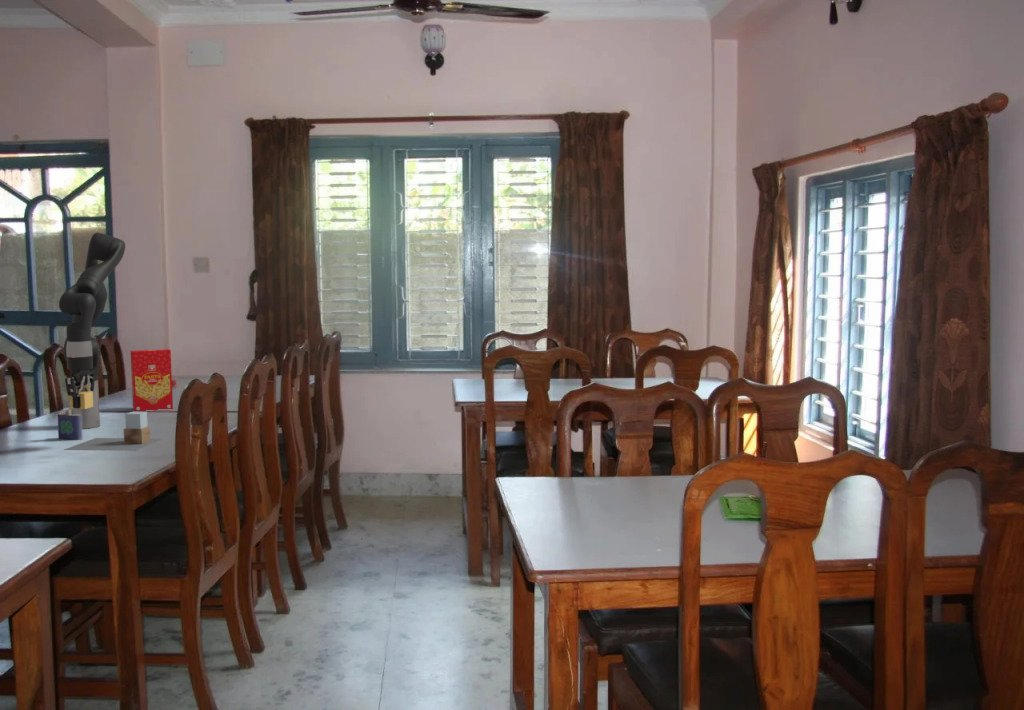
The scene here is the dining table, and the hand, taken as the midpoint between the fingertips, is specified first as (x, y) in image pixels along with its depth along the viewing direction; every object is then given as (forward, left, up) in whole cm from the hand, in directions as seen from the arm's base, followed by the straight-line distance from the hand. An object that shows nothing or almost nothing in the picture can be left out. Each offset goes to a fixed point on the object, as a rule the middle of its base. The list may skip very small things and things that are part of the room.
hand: (81, 406), depth 284 cm
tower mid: (+15, +7, -8) cm, 18 cm away
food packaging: (-12, +76, -14) cm, 78 cm away
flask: (-11, +12, -14) cm, 22 cm away
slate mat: (+9, +4, -13) cm, 17 cm away
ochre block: (0, 0, 0) cm, 0 cm away
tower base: (+15, +7, -13) cm, 21 cm away
